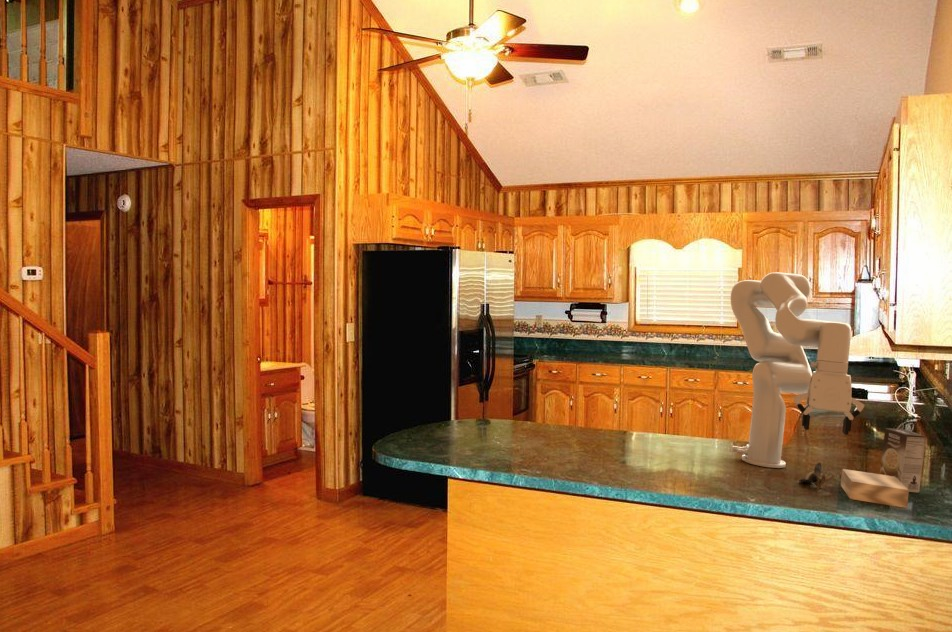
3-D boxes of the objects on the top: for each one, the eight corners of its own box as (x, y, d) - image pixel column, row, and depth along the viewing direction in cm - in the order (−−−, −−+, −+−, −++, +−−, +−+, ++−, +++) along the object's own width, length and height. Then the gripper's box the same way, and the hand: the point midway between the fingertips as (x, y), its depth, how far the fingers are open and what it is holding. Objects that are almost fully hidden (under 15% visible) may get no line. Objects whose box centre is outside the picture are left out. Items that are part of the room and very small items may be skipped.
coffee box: (877, 482, 205) (883, 427, 204) (897, 483, 206) (904, 428, 205) (899, 491, 196) (905, 434, 195) (920, 493, 197) (927, 435, 196)
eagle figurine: (840, 489, 188) (826, 474, 197) (829, 466, 187) (816, 453, 196) (812, 500, 189) (800, 485, 198) (801, 478, 188) (789, 464, 197)
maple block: (849, 500, 183) (851, 481, 183) (840, 486, 198) (842, 468, 197) (906, 509, 179) (909, 489, 179) (893, 494, 193) (895, 476, 193)
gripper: (799, 365, 188) (793, 429, 188) (871, 372, 183) (865, 438, 184) (794, 363, 195) (788, 425, 195) (863, 370, 191) (857, 433, 191)
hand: (825, 431), depth 190 cm, fingers open, 9 cm apart
